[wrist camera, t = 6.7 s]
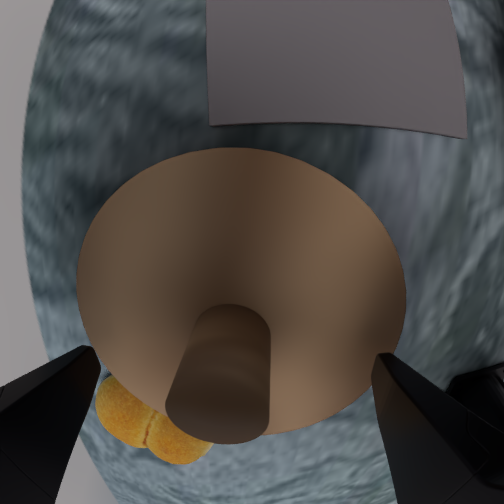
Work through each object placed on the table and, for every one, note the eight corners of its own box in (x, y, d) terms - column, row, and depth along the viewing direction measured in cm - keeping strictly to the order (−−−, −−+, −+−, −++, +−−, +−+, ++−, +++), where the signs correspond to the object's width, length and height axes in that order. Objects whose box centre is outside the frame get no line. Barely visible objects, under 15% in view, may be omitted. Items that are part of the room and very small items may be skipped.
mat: (424, -46, 7) (429, -52, 6) (458, 138, 11) (467, 139, 10) (210, -67, 8) (207, -75, 7) (213, 126, 12) (209, 125, 11)
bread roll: (109, 346, 17) (81, 386, 13) (234, 398, 18) (227, 446, 14) (102, 409, 20) (84, 442, 16) (200, 449, 21) (191, 487, 17)
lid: (411, 151, 8) (503, 165, 4) (365, 413, 12) (383, 487, 8) (65, 169, 9) (-27, 194, 5) (131, 407, 13) (102, 472, 9)
